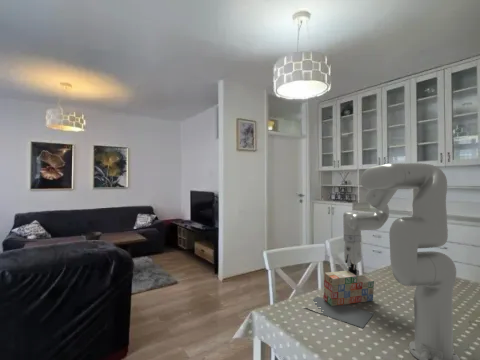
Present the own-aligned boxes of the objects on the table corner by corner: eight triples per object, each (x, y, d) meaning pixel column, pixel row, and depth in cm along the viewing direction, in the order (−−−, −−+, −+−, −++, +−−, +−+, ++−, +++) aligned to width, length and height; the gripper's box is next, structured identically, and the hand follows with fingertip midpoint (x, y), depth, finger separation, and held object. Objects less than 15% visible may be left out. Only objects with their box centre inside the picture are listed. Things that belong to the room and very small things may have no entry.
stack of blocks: (363, 294, 124) (365, 268, 123) (373, 301, 118) (375, 274, 117) (322, 298, 118) (324, 272, 117) (331, 306, 112) (332, 278, 111)
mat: (362, 328, 96) (362, 327, 96) (303, 308, 112) (303, 307, 112) (373, 313, 106) (373, 313, 106) (317, 297, 122) (317, 296, 122)
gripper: (355, 242, 116) (355, 284, 115) (365, 236, 127) (366, 274, 127) (338, 239, 121) (338, 279, 120) (349, 234, 132) (350, 271, 132)
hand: (352, 277), depth 124 cm, fingers closed
